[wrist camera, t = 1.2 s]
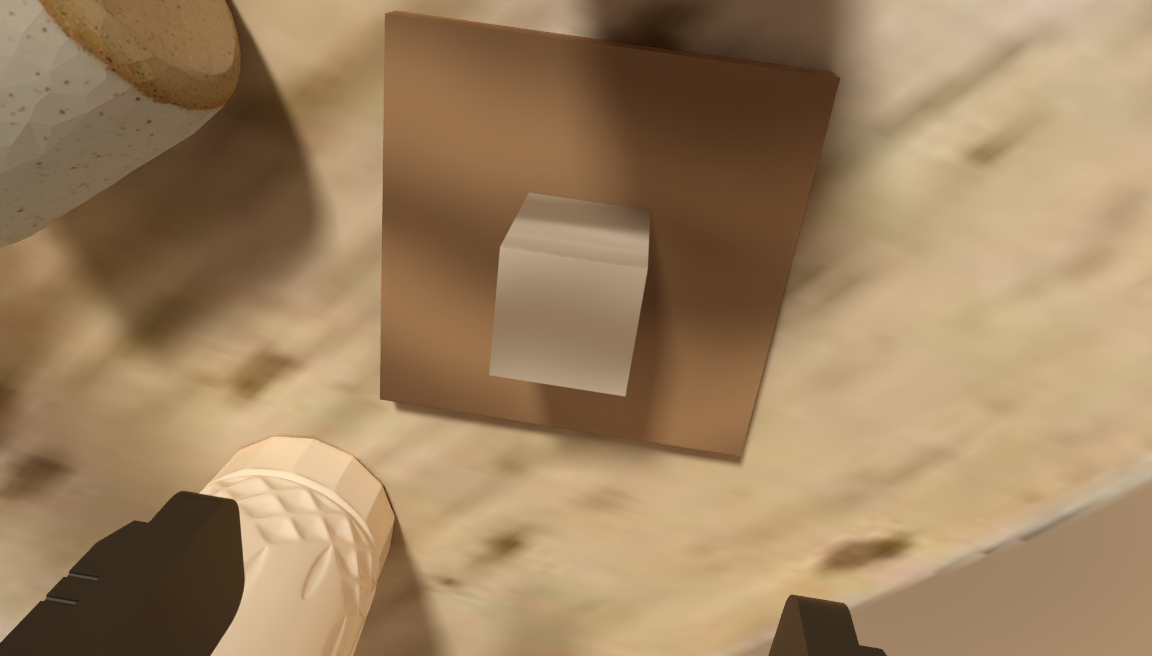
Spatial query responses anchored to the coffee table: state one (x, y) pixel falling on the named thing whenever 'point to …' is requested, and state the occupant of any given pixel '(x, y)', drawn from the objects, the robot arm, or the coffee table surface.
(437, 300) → the walnut lid
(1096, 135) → the coffee table surface
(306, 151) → the coffee table surface
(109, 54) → the ceramic mug
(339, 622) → the white cup
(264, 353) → the coffee table surface
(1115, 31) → the coffee table surface
